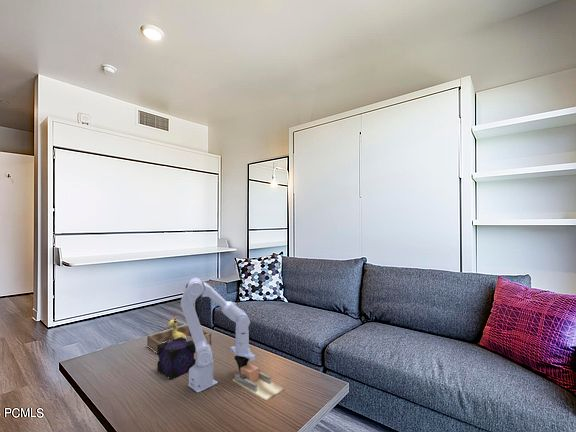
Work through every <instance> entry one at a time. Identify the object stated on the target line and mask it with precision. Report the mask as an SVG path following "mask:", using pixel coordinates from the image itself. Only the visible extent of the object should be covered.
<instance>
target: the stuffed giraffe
mask: <svg viewBox="0 0 576 432" xmlns="http://www.w3.org/2000/svg"><path fill="white" fill-rule="evenodd" d="M177 318H178V317H176V316H174V318H173V319H170V320H169V321H168V323H167V325H166V326H167V329H168V330H171V328H172V329H173V330H172V338H173V340H174V339H177V338H180V337H183V338H185V339H186V341H188V340H191V339H193V338H192V336H190V337H187V336H186V335H185V334H184V333H181V332H178V331H177V328H178V319H177ZM173 340H170V341H166V342H167V343H169V342H172V341H173Z"/></svg>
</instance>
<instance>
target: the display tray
mask: <svg viewBox="0 0 576 432" xmlns="http://www.w3.org/2000/svg"><path fill="white" fill-rule="evenodd" d="M172 330H173V328H172V329H171V328H170V329H168V330H165V331H161V332H158V333H154V334H151V335H147V339H146V341H147V343H146V344H147V345H148V346H149V347H150V348H152V349H153V350H154V351H156V352H157V345H159V344H162V342H165V341H169V340H173V338H172ZM177 331H178V332H181V333H184V334H185V335H186V337H187V335H188V336H190V337H192V336H191V333H190V330H189V327H188V324H185V325H183V326H177ZM202 331H203V334H204V337H205V339H206V341H207V343H209V344H210V346H211V345H212V333H210V332H208V331H206V330H204V329H202ZM189 341H192V342H194V341H193V339H191V340H188V342H189ZM147 345H146V346H147ZM154 351H153V352H154Z"/></svg>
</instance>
